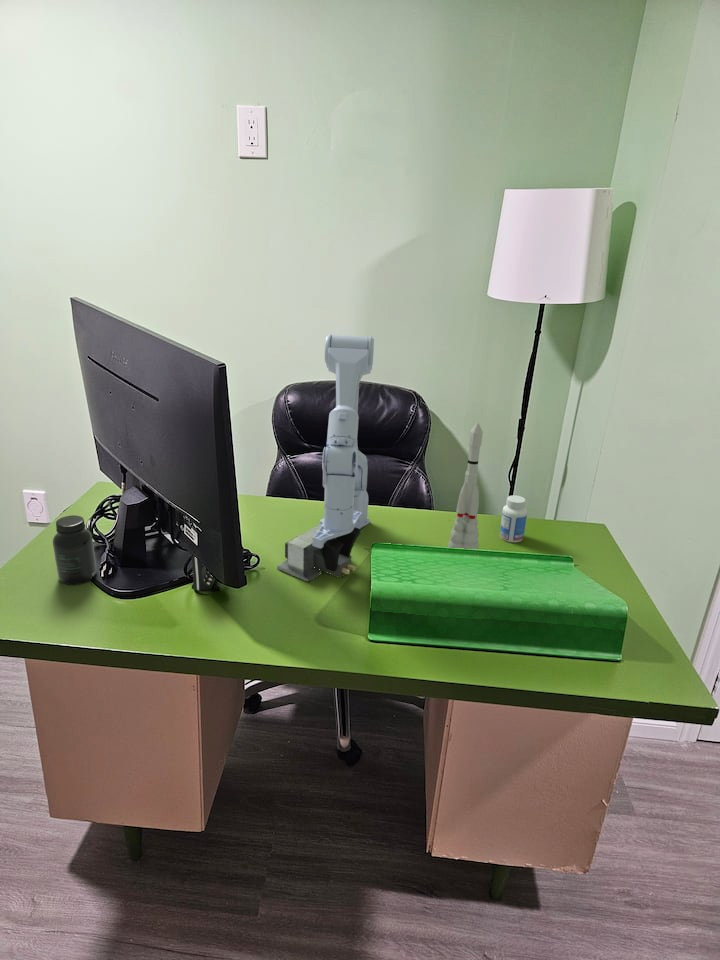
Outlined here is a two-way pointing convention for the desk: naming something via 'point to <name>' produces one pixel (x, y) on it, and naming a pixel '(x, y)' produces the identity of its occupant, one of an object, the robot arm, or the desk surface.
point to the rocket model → (468, 499)
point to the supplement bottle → (73, 550)
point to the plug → (319, 563)
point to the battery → (201, 576)
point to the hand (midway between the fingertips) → (337, 565)
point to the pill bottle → (513, 519)
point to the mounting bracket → (301, 556)
